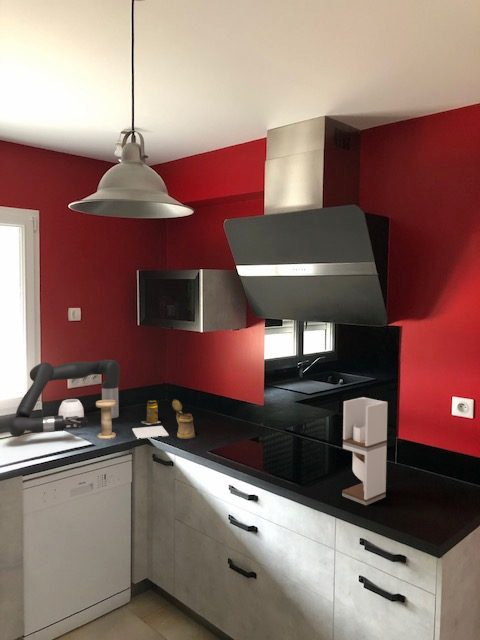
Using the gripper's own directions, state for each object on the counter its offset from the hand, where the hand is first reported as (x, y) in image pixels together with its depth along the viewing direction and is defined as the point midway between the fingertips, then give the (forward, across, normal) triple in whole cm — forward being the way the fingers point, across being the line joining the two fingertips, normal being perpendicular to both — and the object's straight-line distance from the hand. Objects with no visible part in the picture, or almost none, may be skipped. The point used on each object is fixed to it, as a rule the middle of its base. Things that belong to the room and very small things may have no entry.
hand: (87, 420), depth 261 cm
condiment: (+35, +20, +9) cm, 41 cm away
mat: (+31, 0, +9) cm, 32 cm away
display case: (+90, -108, +9) cm, 141 cm away
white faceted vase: (-7, +29, +9) cm, 31 cm away
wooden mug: (+46, -11, +9) cm, 48 cm away
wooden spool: (+9, 0, +9) cm, 13 cm away
